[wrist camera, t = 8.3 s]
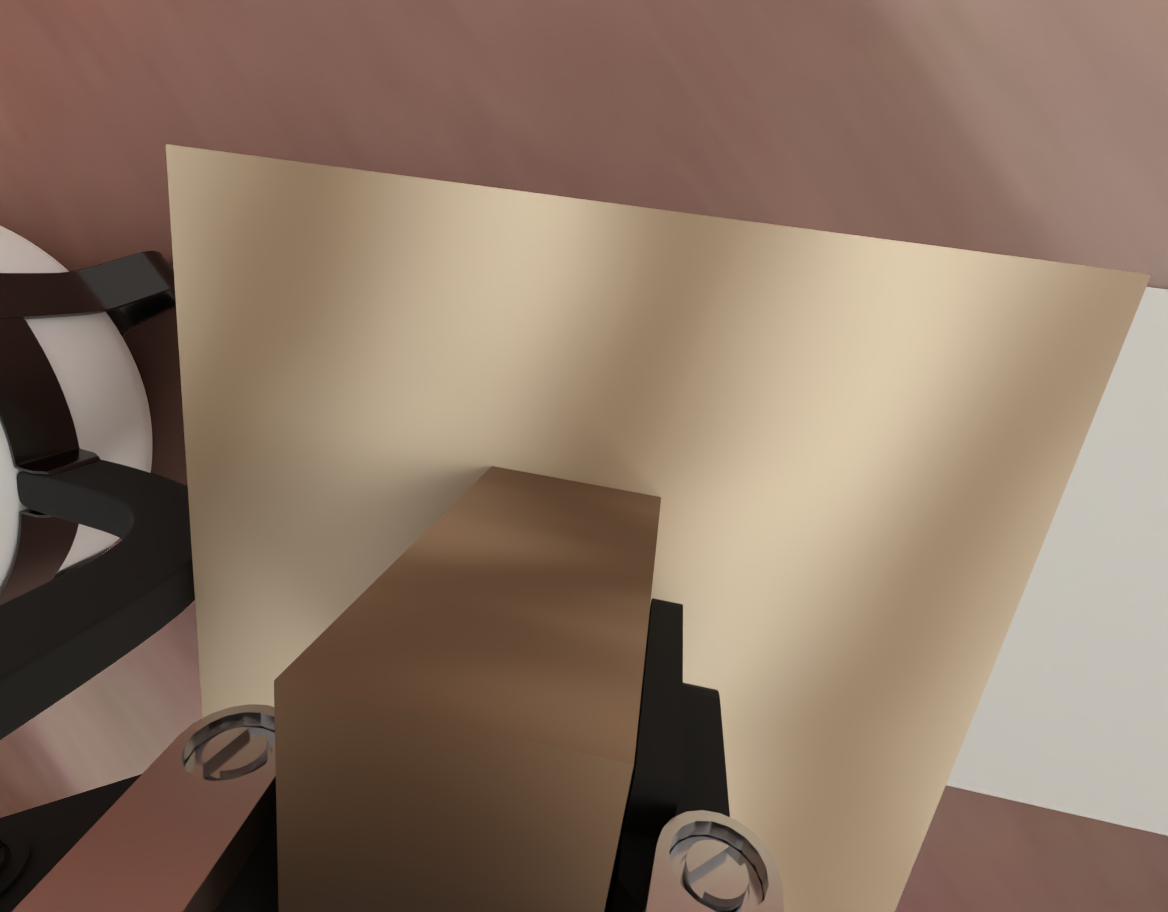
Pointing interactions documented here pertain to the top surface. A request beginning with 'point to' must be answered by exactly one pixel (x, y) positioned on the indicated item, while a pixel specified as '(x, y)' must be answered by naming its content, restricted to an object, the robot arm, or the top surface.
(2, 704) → the coffee press
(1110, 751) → the mat
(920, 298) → the lid
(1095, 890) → the top surface
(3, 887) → the robot arm
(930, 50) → the top surface
